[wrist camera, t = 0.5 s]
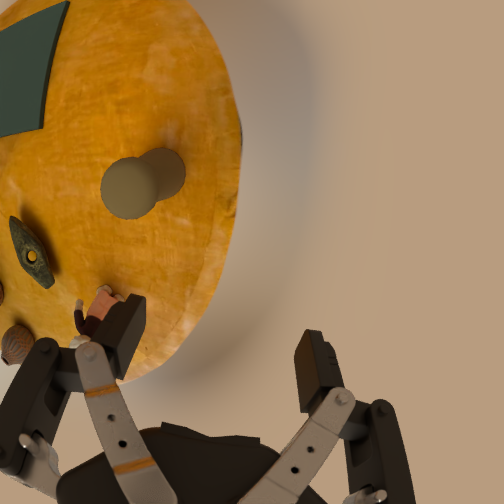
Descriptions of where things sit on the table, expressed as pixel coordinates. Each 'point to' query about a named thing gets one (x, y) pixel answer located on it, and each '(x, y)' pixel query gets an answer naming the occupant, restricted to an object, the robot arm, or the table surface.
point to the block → (1, 295)
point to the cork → (141, 182)
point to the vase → (16, 345)
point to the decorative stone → (23, 245)
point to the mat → (27, 68)
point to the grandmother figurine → (93, 314)
